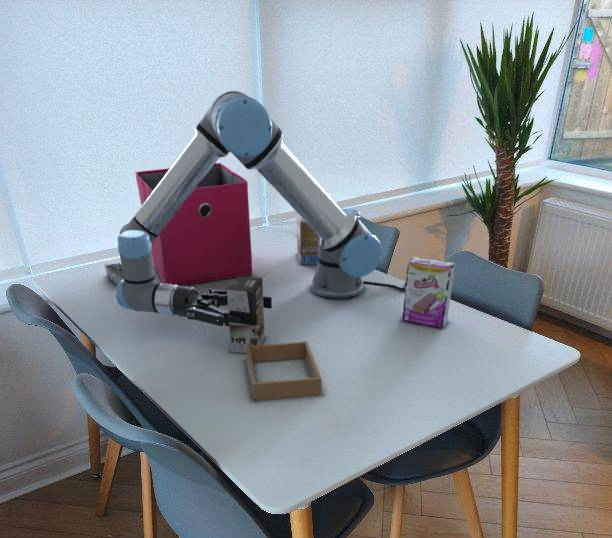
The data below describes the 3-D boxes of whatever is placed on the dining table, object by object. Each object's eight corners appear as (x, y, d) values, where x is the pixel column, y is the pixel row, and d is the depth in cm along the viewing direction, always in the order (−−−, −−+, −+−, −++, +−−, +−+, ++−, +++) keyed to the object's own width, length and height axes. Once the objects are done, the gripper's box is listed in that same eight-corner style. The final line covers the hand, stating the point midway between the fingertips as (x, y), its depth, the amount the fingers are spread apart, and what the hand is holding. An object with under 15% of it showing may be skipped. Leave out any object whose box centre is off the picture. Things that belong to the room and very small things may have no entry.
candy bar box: (401, 321, 160) (406, 262, 151) (406, 314, 164) (412, 256, 155) (443, 329, 156) (451, 268, 147) (447, 322, 160) (455, 262, 151)
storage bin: (165, 290, 178) (152, 191, 163) (146, 259, 200) (133, 170, 185) (255, 276, 188) (250, 181, 172) (227, 248, 210) (221, 162, 194)
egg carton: (139, 281, 184) (137, 268, 182) (114, 286, 181) (112, 273, 179) (128, 270, 192) (126, 258, 190) (105, 274, 189) (102, 262, 187)
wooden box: (307, 355, 144) (307, 341, 142) (321, 394, 130) (321, 378, 127) (246, 361, 142) (245, 345, 140) (253, 400, 128) (252, 384, 125)
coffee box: (256, 354, 145) (252, 291, 136) (230, 352, 146) (225, 289, 137) (265, 337, 152) (263, 277, 144) (241, 335, 153) (237, 274, 145)
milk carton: (297, 254, 205) (296, 196, 195) (328, 252, 206) (329, 195, 196) (300, 264, 196) (300, 205, 186) (332, 263, 197) (333, 204, 187)
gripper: (198, 297, 159) (279, 307, 154) (158, 333, 141) (248, 345, 136) (195, 270, 155) (278, 279, 150) (154, 303, 137) (246, 315, 132)
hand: (264, 311), depth 143 cm, fingers closed on coffee box, 9 cm apart
